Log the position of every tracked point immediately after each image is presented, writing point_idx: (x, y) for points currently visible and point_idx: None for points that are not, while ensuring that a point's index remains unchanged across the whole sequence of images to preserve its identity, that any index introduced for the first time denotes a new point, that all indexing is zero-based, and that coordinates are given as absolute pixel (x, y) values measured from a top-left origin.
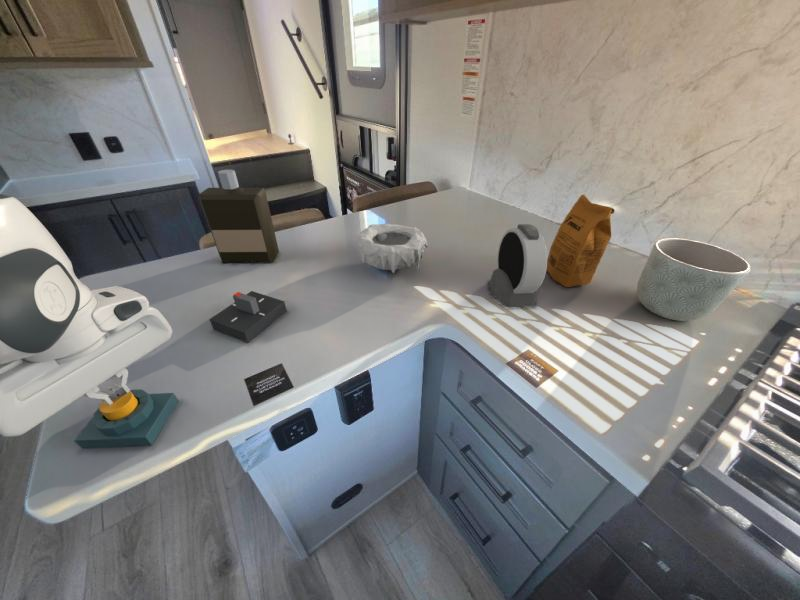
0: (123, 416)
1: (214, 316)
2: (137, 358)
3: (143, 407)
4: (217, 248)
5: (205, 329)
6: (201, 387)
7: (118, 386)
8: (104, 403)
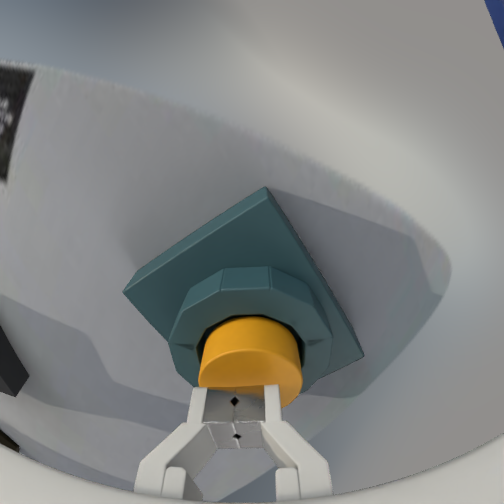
0: (266, 323)
1: (7, 392)
2: (67, 481)
3: (204, 303)
4: None
5: (42, 389)
6: (79, 259)
7: (211, 431)
8: None
